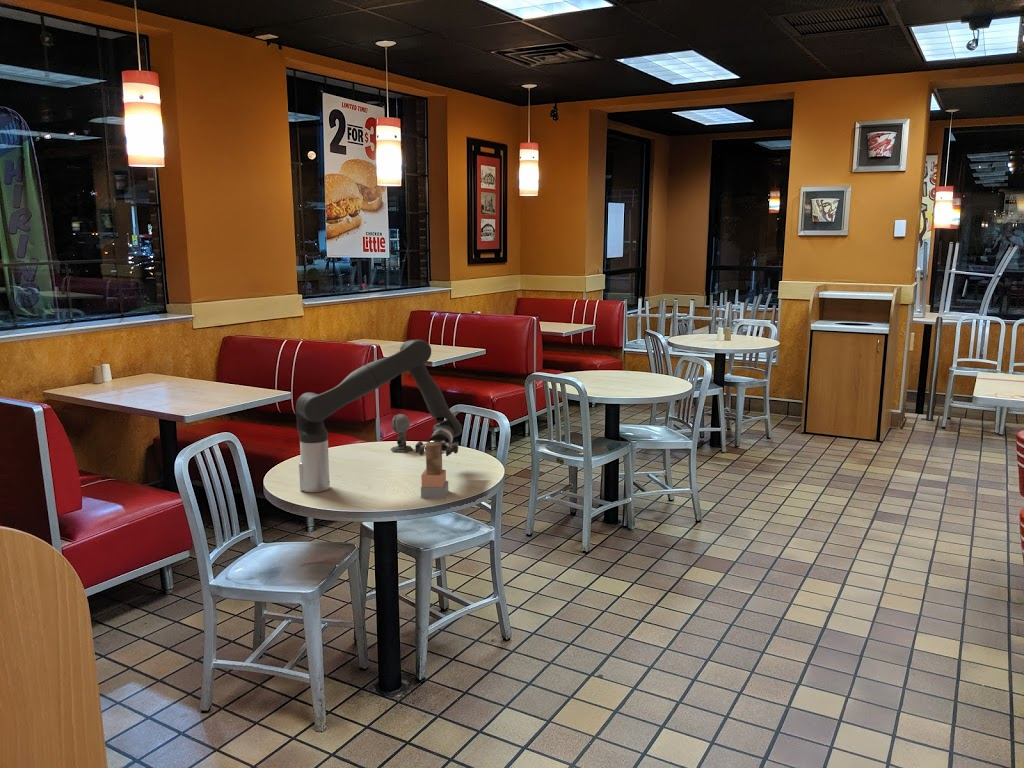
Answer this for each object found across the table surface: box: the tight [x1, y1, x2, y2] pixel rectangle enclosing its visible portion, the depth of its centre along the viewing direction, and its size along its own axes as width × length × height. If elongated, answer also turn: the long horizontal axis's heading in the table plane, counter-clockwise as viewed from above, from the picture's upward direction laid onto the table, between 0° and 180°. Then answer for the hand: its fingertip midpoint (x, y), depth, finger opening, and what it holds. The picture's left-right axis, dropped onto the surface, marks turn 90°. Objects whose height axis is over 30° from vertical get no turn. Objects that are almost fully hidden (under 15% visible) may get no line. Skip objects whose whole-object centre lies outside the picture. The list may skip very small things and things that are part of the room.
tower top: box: [420, 469, 447, 487], centre depth 258 cm, size 7×7×4 cm
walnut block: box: [425, 441, 443, 475], centre depth 257 cm, size 5×5×10 cm
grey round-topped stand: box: [390, 413, 415, 454], centre depth 314 cm, size 9×10×15 cm
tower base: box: [420, 480, 449, 500], centre depth 259 cm, size 8×8×4 cm
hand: (434, 453), depth 254 cm, fingers open, 8 cm apart
